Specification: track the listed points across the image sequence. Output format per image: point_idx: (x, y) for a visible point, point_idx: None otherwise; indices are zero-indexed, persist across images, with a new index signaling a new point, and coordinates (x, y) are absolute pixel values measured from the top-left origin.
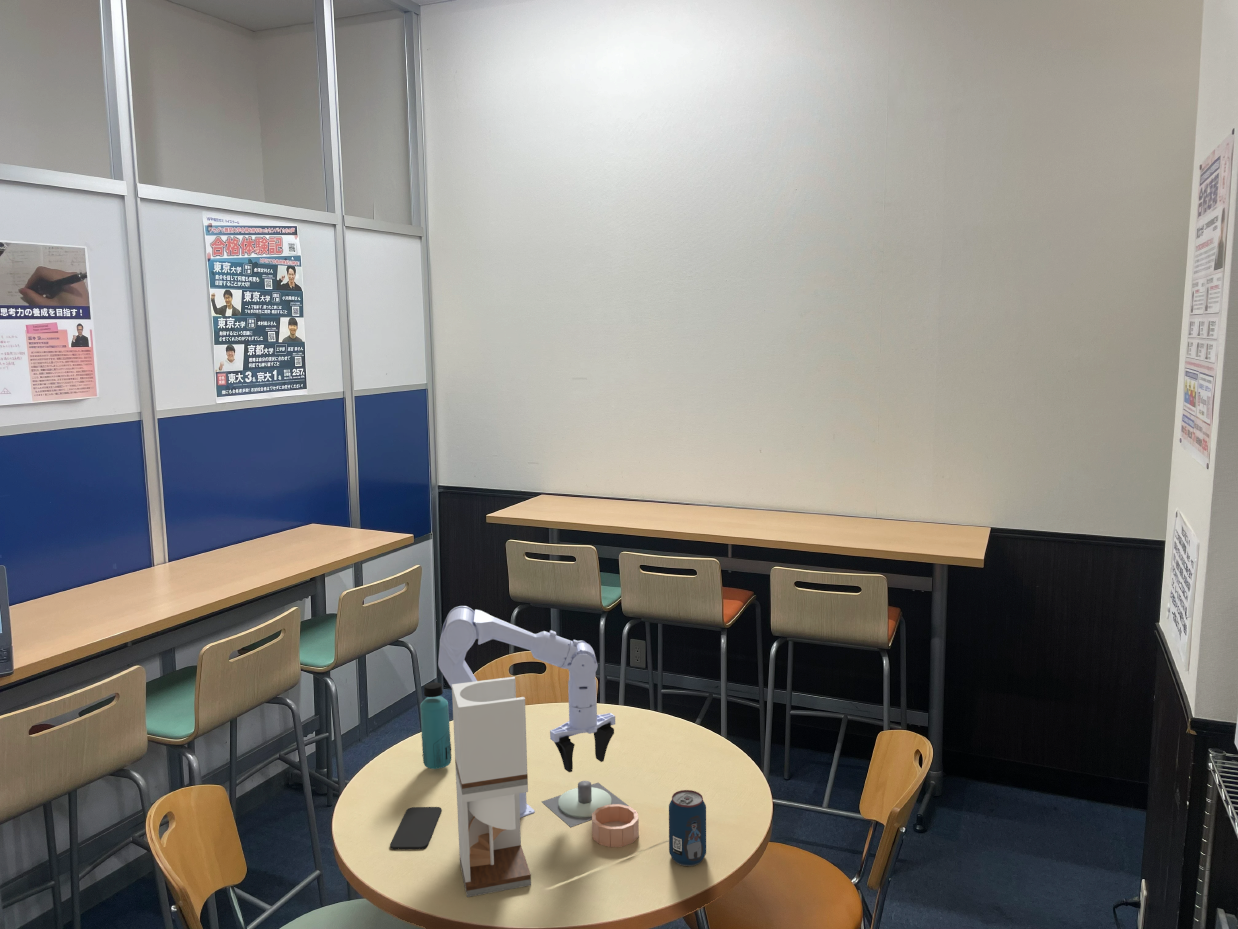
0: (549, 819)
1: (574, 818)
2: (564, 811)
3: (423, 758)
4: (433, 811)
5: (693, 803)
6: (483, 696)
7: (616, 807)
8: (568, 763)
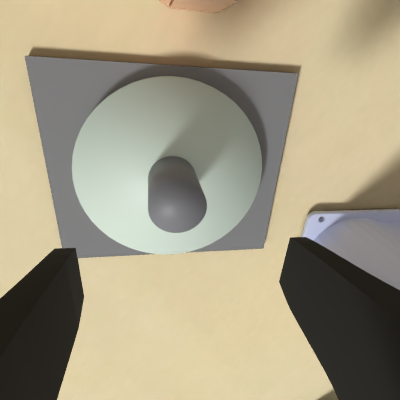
0: (299, 166)
1: (254, 114)
2: (260, 163)
3: None
4: None
5: None
6: None
7: None
8: (361, 271)
